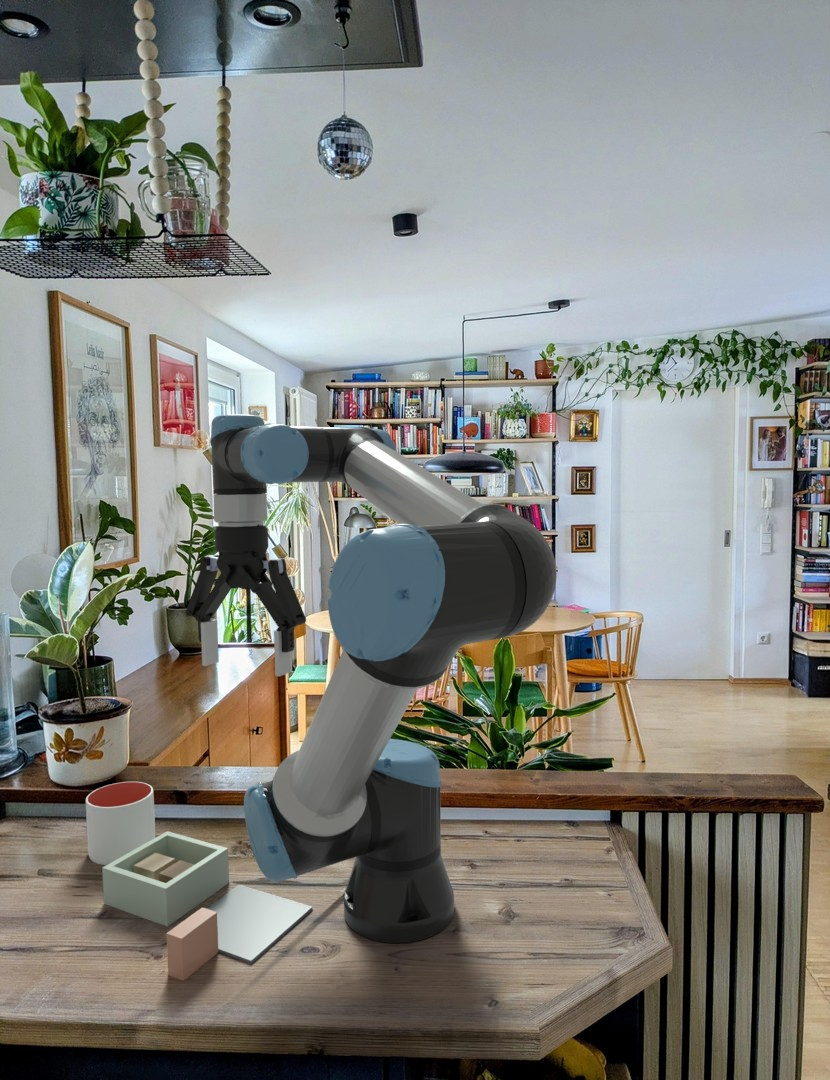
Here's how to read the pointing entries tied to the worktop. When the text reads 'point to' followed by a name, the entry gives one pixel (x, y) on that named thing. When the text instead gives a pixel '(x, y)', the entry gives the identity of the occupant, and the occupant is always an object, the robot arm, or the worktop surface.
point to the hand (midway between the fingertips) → (245, 669)
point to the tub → (173, 896)
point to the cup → (119, 820)
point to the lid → (231, 929)
